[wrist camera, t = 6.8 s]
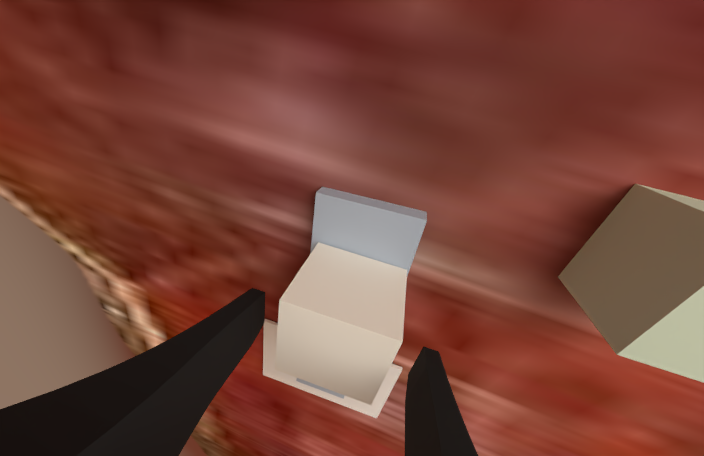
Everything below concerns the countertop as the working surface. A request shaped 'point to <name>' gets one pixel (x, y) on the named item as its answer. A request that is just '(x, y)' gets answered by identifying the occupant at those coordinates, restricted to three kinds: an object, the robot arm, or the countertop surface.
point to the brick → (341, 322)
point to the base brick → (367, 227)
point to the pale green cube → (646, 280)
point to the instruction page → (270, 371)
